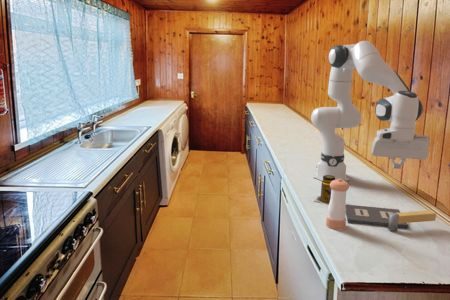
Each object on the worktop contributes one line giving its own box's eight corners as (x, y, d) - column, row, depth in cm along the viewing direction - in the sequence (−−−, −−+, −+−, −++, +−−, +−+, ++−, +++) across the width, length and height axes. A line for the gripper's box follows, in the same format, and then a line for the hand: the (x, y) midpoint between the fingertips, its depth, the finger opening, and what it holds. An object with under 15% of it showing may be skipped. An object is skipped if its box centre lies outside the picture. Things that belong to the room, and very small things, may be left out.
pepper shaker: (330, 220, 151) (334, 174, 146) (348, 225, 146) (353, 178, 142) (322, 225, 145) (326, 179, 141) (340, 231, 141) (345, 183, 136)
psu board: (344, 207, 164) (344, 203, 163) (398, 212, 159) (398, 208, 159) (347, 222, 149) (348, 218, 148) (407, 228, 144) (408, 224, 144)
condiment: (332, 205, 166) (334, 179, 163) (313, 201, 170) (315, 176, 167) (336, 200, 172) (338, 175, 169) (318, 196, 176) (320, 172, 173)
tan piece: (391, 231, 140) (393, 216, 139) (386, 227, 143) (388, 213, 142) (434, 228, 144) (436, 213, 143) (428, 224, 147) (430, 210, 146)
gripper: (428, 133, 145) (422, 167, 148) (372, 130, 149) (368, 163, 152) (433, 137, 139) (427, 172, 142) (375, 134, 143) (371, 168, 146)
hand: (396, 168), depth 147 cm, fingers closed
